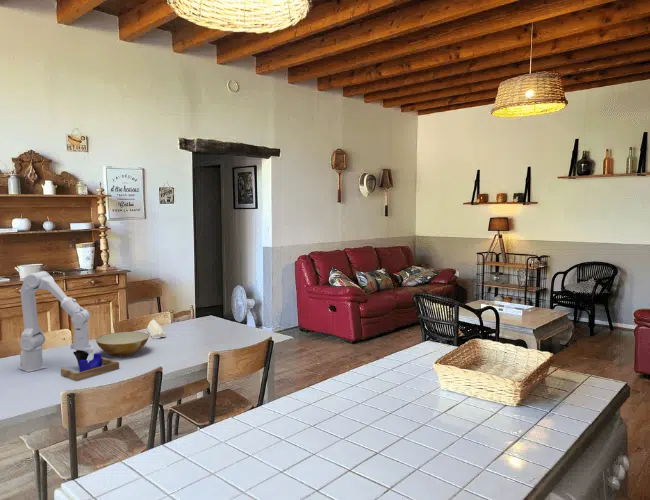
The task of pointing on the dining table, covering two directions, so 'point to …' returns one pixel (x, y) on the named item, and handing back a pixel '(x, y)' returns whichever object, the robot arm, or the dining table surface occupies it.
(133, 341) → the bowl
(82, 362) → the blue cradle block
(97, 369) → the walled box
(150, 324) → the crystal
